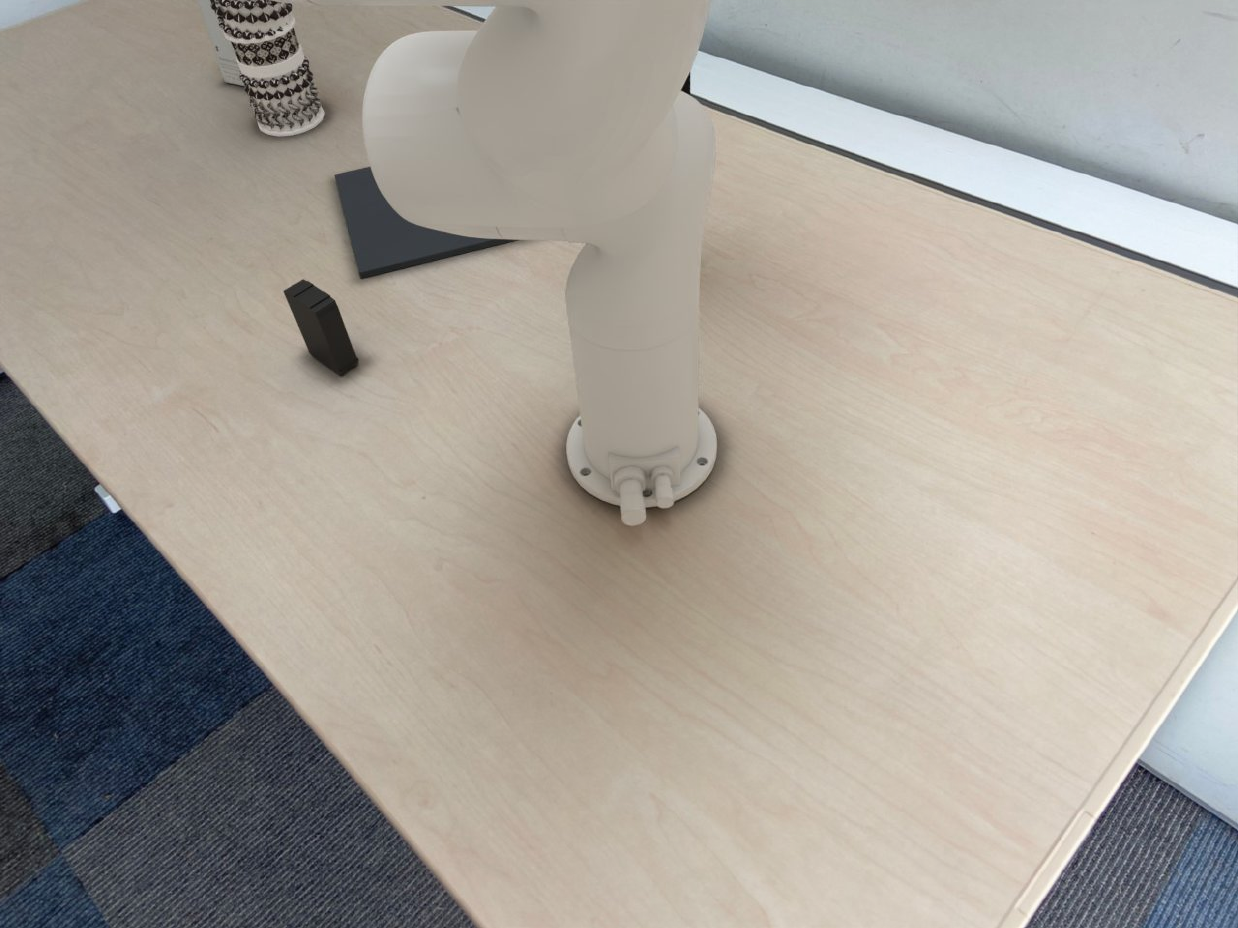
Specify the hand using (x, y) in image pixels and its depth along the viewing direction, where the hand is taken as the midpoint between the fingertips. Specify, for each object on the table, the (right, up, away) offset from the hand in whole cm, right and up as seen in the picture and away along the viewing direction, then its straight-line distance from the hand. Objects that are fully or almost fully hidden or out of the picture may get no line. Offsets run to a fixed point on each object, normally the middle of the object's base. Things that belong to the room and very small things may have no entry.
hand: (666, 80), depth 78 cm
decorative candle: (-46, +12, +41) cm, 62 cm away
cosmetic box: (-53, +20, +48) cm, 74 cm away
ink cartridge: (-31, -23, +10) cm, 40 cm away
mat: (-23, -3, +26) cm, 35 cm away
